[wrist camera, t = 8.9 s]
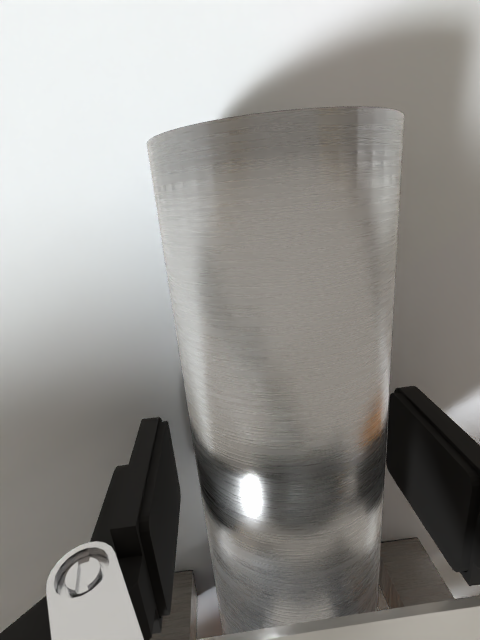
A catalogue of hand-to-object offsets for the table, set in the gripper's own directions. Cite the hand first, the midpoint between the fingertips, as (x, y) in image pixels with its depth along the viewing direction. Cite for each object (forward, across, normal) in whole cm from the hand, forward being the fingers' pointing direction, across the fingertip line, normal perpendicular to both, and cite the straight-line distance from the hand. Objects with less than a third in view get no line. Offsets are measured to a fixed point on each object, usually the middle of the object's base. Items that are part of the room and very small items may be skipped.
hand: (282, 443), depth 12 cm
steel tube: (+1, 0, +3) cm, 4 cm away
